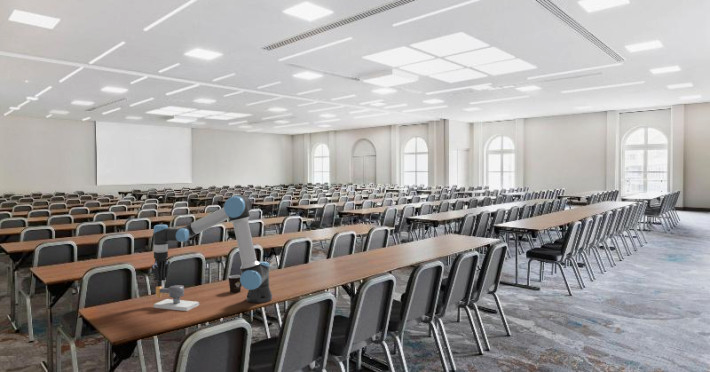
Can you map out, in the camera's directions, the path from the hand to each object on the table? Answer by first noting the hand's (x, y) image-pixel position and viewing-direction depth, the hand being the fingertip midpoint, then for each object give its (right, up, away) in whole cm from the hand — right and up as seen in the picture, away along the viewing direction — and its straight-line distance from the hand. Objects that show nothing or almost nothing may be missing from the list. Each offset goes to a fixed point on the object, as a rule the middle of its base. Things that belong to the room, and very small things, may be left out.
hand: (161, 291), depth 256 cm
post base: (+11, -8, -4) cm, 14 cm away
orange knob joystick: (+6, -3, -3) cm, 8 cm away
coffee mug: (+37, -7, +28) cm, 47 cm away
